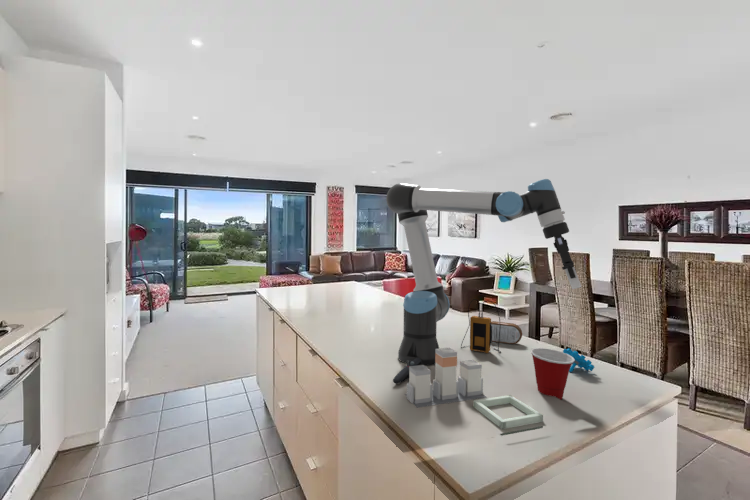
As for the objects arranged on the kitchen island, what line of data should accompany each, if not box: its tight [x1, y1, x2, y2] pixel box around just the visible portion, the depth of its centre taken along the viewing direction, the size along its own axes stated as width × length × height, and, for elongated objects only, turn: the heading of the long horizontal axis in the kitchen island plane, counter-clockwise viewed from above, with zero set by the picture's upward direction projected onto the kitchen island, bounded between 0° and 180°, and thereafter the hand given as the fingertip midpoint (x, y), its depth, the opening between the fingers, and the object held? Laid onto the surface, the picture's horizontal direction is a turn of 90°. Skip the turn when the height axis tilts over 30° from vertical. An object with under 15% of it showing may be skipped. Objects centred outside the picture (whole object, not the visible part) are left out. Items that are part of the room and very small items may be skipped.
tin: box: [491, 320, 523, 345], centre depth 150 cm, size 15×3×8 cm, turn 65°
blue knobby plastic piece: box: [562, 347, 595, 373], centre depth 118 cm, size 11×6×10 cm
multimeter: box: [460, 298, 502, 354], centre depth 141 cm, size 15×10×20 cm
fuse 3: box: [459, 359, 483, 396], centre depth 97 cm, size 4×4×8 cm
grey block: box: [408, 365, 432, 404], centre depth 92 cm, size 4×4×8 cm
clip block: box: [404, 375, 488, 408], centre depth 95 cm, size 8×21×6 cm, turn 108°
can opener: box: [392, 358, 422, 385], centre depth 108 cm, size 18×7×6 cm, turn 146°
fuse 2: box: [434, 347, 458, 400], centre depth 95 cm, size 4×4×12 cm
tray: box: [472, 394, 544, 437], centre depth 85 cm, size 11×11×3 cm
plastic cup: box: [530, 347, 575, 401], centre depth 98 cm, size 11×11×12 cm
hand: (575, 285), depth 118 cm, fingers open, 13 cm apart
